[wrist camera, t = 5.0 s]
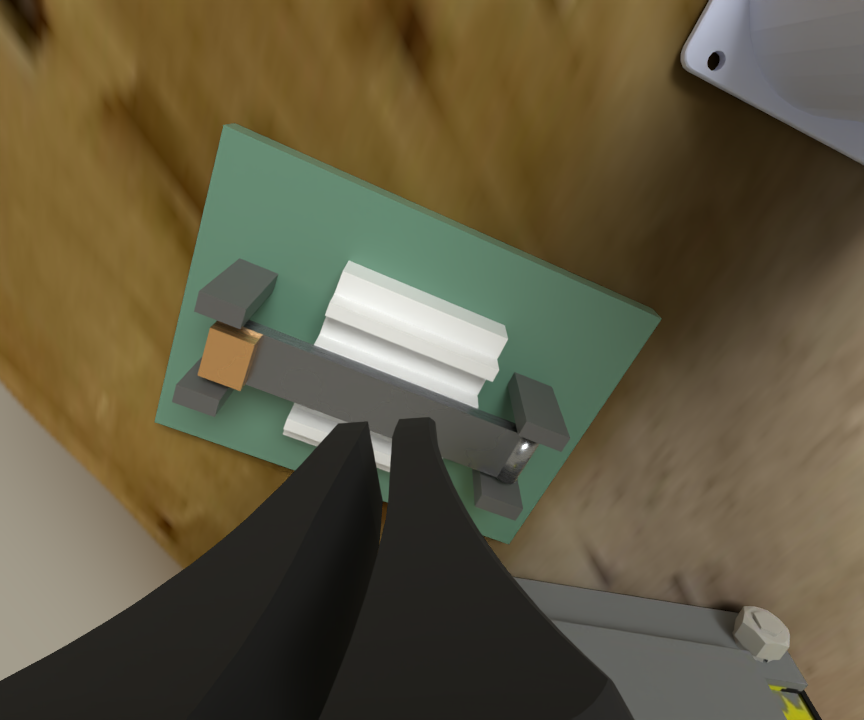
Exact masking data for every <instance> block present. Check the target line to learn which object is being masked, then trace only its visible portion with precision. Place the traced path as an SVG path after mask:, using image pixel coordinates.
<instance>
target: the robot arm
mask: <svg viewBox="0 0 864 720" xmlns="http://www.w3.org/2000/svg"><path fill="white" fill-rule="evenodd" d="M713 52H716V53H717V54H718V55H719V59H720V61H719V64H718V66H717V67H716V68H715V69H714V70H712V71H711V70H710V69H709V68H708V65H707V61H708V58H709V56H710V55H711V54H712V53H713ZM681 63H682V66H683V68H684V69H685V70H687V71H688V72H690V73H692V74H693V75H695V76H697V77H699V78H701V79H703V80H705V81H707V82H708V83H710V84H712V85H714V86H716V87H718V88H720V89H722V90H723V91H725V92H727V93H729V94H731V95H733V96H735V97H737V98H738V99H740V100H742V101H744V102H746V103H748V104H750V105H752V106H754V107H755V108H757V109H759V110H761V111H763V112H765V113H767V114H769V115H770V116H772V117H774V118H776V119H778V120H780V121H782V122H784V123H785V124H787V125H789V126H791V127H793V128H795V129H797V130H799V131H800V132H802V133H804V134H806V135H808V136H810V137H812V138H814V139H816V140H817V141H819V142H821V143H823V144H825V145H827V146H829V147H831V148H832V149H834V150H836V151H838V152H840V153H842V154H844V155H846V156H847V157H849V158H851V159H853V160H855V161H857V162H859V163H861V164H862V165H864V0H709V2H708V3H707V5H706V7H705V9H704V10H703V12H702V14H701V16H700V18H699V19H698V21H697V23H696V25H695V27H694V28H693V30H692V32H691V34H690V36H689V37H688V39H687V41H686V43H685V45H684V46H683V49H682V52H681ZM382 503H383V499H382V494H381V489H380V483H379V478H378V473H377V467H376V462H375V456H374V451H373V446H372V440H371V435H370V430H369V424H368V421H365V422H351V423H338V424H337V425H336V426H335V427H334V428H333V430H332V431H331V432H330V433H329V434H328V435H327V436H326V437H325V438H324V439H323V441H322V442H321V443H320V444H319V445H318V446H317V447H316V448H315V449H314V451H313V452H312V453H311V454H310V455H309V456H308V457H307V458H306V459H305V460H304V462H303V463H302V464H301V465H300V466H299V467H298V468H297V469H296V470H295V471H294V472H293V473H292V474H291V476H290V477H289V478H288V479H287V480H286V481H285V482H284V483H283V484H282V485H281V486H280V487H279V488H278V489H277V490H276V491H275V492H274V493H273V494H272V495H271V496H270V497H269V498H268V499H266V500H265V501H264V502H263V503H262V504H261V505H260V506H259V507H258V508H257V509H256V510H255V511H254V512H253V513H252V514H251V515H250V516H249V517H248V518H247V519H246V520H244V521H243V522H242V523H241V524H240V525H239V526H238V527H237V528H235V529H234V530H233V531H232V532H231V533H230V534H228V535H227V536H226V537H225V538H224V539H222V540H221V541H220V542H219V543H217V544H216V545H215V546H214V547H212V548H211V549H210V550H209V551H207V552H206V553H205V554H204V555H202V556H201V557H200V558H199V559H197V560H196V561H195V562H193V563H192V564H191V565H189V566H188V567H186V568H185V569H184V570H182V571H181V572H180V573H178V574H177V575H175V576H174V577H172V578H171V579H169V580H168V581H167V582H165V583H164V584H162V585H161V586H160V587H158V588H157V589H155V590H154V591H152V592H151V593H150V594H148V595H147V596H145V597H144V598H142V599H141V600H139V601H138V602H136V603H135V604H133V605H132V606H130V607H129V608H127V609H126V610H124V611H122V612H121V613H119V614H118V615H116V616H114V617H113V618H111V619H110V620H108V621H106V622H105V623H103V624H102V625H100V626H98V627H96V628H95V629H93V630H91V631H90V632H88V633H87V634H85V635H83V636H81V637H80V638H78V639H76V640H75V641H73V642H71V643H69V644H68V645H66V646H64V647H62V648H61V649H59V650H57V651H55V652H54V653H52V654H50V655H48V656H46V657H44V658H43V659H41V660H39V661H37V662H35V663H33V664H31V665H29V666H28V667H26V668H24V669H22V670H20V671H18V672H16V673H15V674H12V675H11V676H9V677H7V678H5V679H3V680H1V681H0V720H634V718H633V716H632V714H631V712H630V710H629V709H628V707H627V705H626V703H625V702H624V700H623V698H622V696H621V694H620V693H619V691H618V689H617V687H616V686H615V684H614V682H613V681H612V680H611V678H609V677H608V676H607V675H606V674H605V673H604V672H603V671H602V670H601V669H600V668H599V667H598V666H596V665H595V664H594V663H593V662H592V661H591V660H590V659H589V658H588V657H587V656H586V655H585V654H584V653H583V652H582V651H580V650H579V649H578V648H577V647H576V646H575V645H574V644H573V643H572V642H571V641H570V640H569V639H568V638H567V637H566V636H565V635H564V634H563V633H562V632H561V631H560V630H559V629H558V628H557V626H556V625H555V624H554V623H553V622H552V621H551V620H550V619H549V618H548V617H547V616H546V615H545V614H544V613H543V612H542V611H541V610H540V609H539V607H538V606H537V605H536V604H535V603H534V602H533V600H532V599H531V598H530V597H529V596H528V594H527V593H526V592H525V591H524V590H523V588H522V587H521V586H520V585H519V584H518V582H517V581H516V580H515V579H514V578H513V576H512V575H511V574H510V573H509V572H508V571H507V569H506V568H505V567H504V565H503V564H502V563H501V561H500V560H499V558H498V557H497V556H496V554H495V553H494V552H493V550H492V549H491V548H490V546H489V545H488V543H487V542H486V540H485V539H484V537H483V536H482V534H481V533H480V531H479V530H478V528H477V526H476V525H475V523H474V522H473V520H472V518H471V516H470V515H469V513H468V511H467V510H466V508H465V506H464V504H463V502H462V500H461V499H460V497H459V495H458V493H457V491H456V489H455V487H454V485H453V483H452V480H451V478H450V476H449V473H448V471H447V469H446V466H445V464H444V462H443V459H442V456H441V453H440V450H439V447H438V440H437V431H436V423H435V421H434V420H433V419H431V418H430V417H421V418H407V419H399V420H398V423H397V425H396V427H395V430H394V433H393V436H392V446H391V461H390V478H389V495H388V507H387V514H386V521H385V525H384V529H383V533H382V537H381V541H380V545H379V540H380V529H381V516H382ZM378 548H379V549H378ZM377 553H378V554H377Z"/></svg>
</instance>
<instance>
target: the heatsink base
mask: <svg viewBox="0 0 864 720" xmlns="http://www.w3.org/2000/svg"><path fill="white" fill-rule="evenodd" d="M661 319H662V318H661V317H660V316H659V315H658V314H657V313H656V312H655V311H654V310H653V309H652V308H650V307H648V306H645V305H643V304H641V303H639V302H636V301H634V300H632V299H630V298H627V297H625V296H623V295H621V294H618V293H616V292H614V291H612V290H609V289H607V288H605V287H603V286H600V285H598V284H596V283H594V282H591V281H589V280H587V279H585V278H582V277H580V276H578V275H575V274H573V273H571V272H569V271H566V270H564V269H562V268H560V267H557V266H555V265H553V264H551V263H548V262H546V261H544V260H542V259H539V258H537V257H535V256H533V255H530V254H528V253H526V252H524V251H521V250H519V249H517V248H515V247H512V246H510V245H508V244H506V243H503V242H501V241H499V240H497V239H494V238H492V237H490V236H488V235H485V234H483V233H481V232H479V231H476V230H474V229H472V228H470V227H467V226H465V225H463V224H461V223H458V222H456V221H454V220H452V219H449V218H447V217H445V216H443V215H440V214H438V213H436V212H434V211H431V210H429V209H427V208H425V207H422V206H420V205H418V204H416V203H413V202H411V201H409V200H407V199H404V198H402V197H400V196H398V195H395V194H393V193H391V192H388V191H386V190H384V189H382V188H379V187H377V186H375V185H373V184H370V183H368V182H366V181H364V180H361V179H359V178H357V177H355V176H352V175H350V174H348V173H346V172H343V171H341V170H339V169H337V168H334V167H332V166H330V165H328V164H325V163H323V162H321V161H319V160H316V159H314V158H312V157H310V156H307V155H305V154H303V153H301V152H298V151H296V150H294V149H292V148H289V147H287V146H285V145H283V144H280V143H278V142H276V141H274V140H271V139H269V138H267V137H265V136H262V135H260V134H258V133H256V132H253V131H251V130H249V129H247V128H244V127H242V126H240V125H238V124H235V123H234V124H227V125H223V130H222V134H221V138H220V143H219V147H218V151H217V156H216V160H215V164H214V168H213V173H212V177H211V181H210V186H209V190H208V194H207V199H206V203H205V207H204V211H203V216H202V220H201V224H200V229H199V233H198V237H197V242H196V246H195V250H194V254H193V259H192V263H191V267H190V272H189V276H188V280H187V285H186V289H185V293H184V298H183V302H182V306H181V310H180V315H179V319H178V323H177V328H176V332H175V336H174V341H173V345H172V349H171V353H170V358H169V362H168V366H167V371H166V375H165V379H164V384H163V388H162V392H161V396H160V401H159V405H158V409H157V414H156V418H155V422H156V423H159V424H162V425H165V426H168V427H170V428H173V429H176V430H179V431H182V432H185V433H188V434H191V435H194V436H197V437H199V438H202V439H205V440H208V441H211V442H214V443H217V444H220V445H223V446H225V447H228V448H231V449H234V450H237V451H240V452H243V453H246V454H249V455H252V456H254V457H257V458H260V459H263V460H266V461H269V462H272V463H275V464H278V465H281V466H283V467H286V468H289V469H292V470H296V469H297V468H298V467H299V466H300V465H301V464H302V463H303V462H304V460H305V459H306V458H307V457H308V456H309V455H310V454H311V453H312V452H313V451H314V449H315V448H316V447H317V446H318V445H319V444H320V443H321V442H322V441H323V439H324V438H325V437H326V436H327V435H328V434H329V433H330V432H331V431H332V430H333V428H334V427H335V426H336V425H337V424H338V423H348V422H346V421H343V420H340V419H337V418H335V417H332V416H329V415H327V414H324V413H321V412H319V411H316V410H313V409H310V408H308V407H305V406H302V405H300V404H297V403H294V402H292V401H289V400H286V399H283V398H281V397H278V396H275V395H273V394H270V393H267V392H265V391H262V390H259V389H256V388H254V387H251V386H248V385H246V384H245V385H244V387H243V388H242V389H241V391H238V390H236V389H233V388H230V387H228V386H225V385H222V384H219V383H217V382H214V381H211V380H209V379H206V378H203V377H200V376H198V371H199V368H200V364H201V360H202V356H203V352H204V349H205V345H206V341H207V337H208V333H209V330H210V327H211V326H212V325H213V324H214V323H215V322H216V321H220V322H223V323H225V324H228V325H230V326H233V327H236V328H238V329H241V328H242V327H243V326H244V324H245V323H246V322H247V321H248V320H251V321H254V322H256V323H259V324H262V325H264V326H267V327H269V328H272V329H274V330H277V331H279V332H282V333H285V334H287V335H290V336H292V337H295V338H297V339H300V340H303V341H305V342H308V343H310V344H313V345H315V346H318V347H320V348H323V349H326V350H328V351H331V352H333V353H336V354H339V355H341V356H344V357H346V358H349V359H351V360H354V361H356V362H359V363H362V364H364V365H367V366H369V367H372V368H374V369H377V370H380V371H382V372H385V373H387V374H390V375H392V376H395V377H398V378H400V379H403V380H405V381H408V382H410V383H413V384H415V385H418V386H421V387H423V388H426V389H428V390H431V391H433V392H436V393H439V394H441V395H444V396H446V397H449V398H451V399H454V400H457V401H459V402H462V403H464V404H467V405H469V406H472V407H474V408H477V409H480V410H482V411H485V412H487V413H490V414H492V415H495V416H498V417H500V418H503V419H505V420H508V421H510V422H513V423H516V428H517V432H518V436H521V437H523V438H526V439H529V440H531V441H534V442H536V443H539V446H538V447H537V449H536V450H535V452H534V453H533V455H532V456H531V458H530V460H529V461H528V463H527V464H526V466H525V467H524V469H523V471H522V472H521V474H520V475H519V477H518V478H517V480H516V482H515V483H514V484H506V483H504V482H502V481H500V480H499V479H498V478H497V477H494V476H491V475H489V474H486V473H483V472H480V471H478V470H475V469H472V468H470V467H467V466H464V465H462V464H459V463H456V462H453V461H451V460H448V459H445V458H443V457H442V459H443V462H444V464H445V466H446V469H447V471H448V473H449V476H450V478H451V480H452V483H453V485H454V487H455V489H456V491H457V493H458V495H459V497H460V499H461V500H462V502H463V504H464V506H465V508H466V510H467V511H468V513H469V515H470V516H471V518H472V520H473V522H474V523H475V525H476V526H477V528H478V530H479V531H480V533H481V534H482V535H483V536H486V537H489V538H492V539H495V540H498V541H501V542H504V543H506V544H509V543H510V542H511V540H512V539H513V537H514V536H515V535H516V533H517V532H518V530H519V529H520V527H521V526H522V524H523V523H524V521H525V520H526V518H527V517H528V515H529V514H530V512H531V511H532V509H533V508H534V507H535V505H536V504H537V502H538V501H539V499H540V498H541V496H542V495H543V493H544V492H545V490H546V489H547V487H548V486H549V484H550V483H551V481H552V480H553V478H554V477H555V476H556V474H557V473H558V471H559V470H560V468H561V467H562V465H563V464H564V462H565V461H566V459H567V458H568V456H569V455H570V453H571V452H572V450H573V449H574V448H575V446H576V445H577V443H578V442H579V440H580V439H581V437H582V436H583V434H584V433H585V431H586V430H587V428H588V427H589V425H590V424H591V422H592V421H593V419H594V418H595V417H596V415H597V414H598V412H599V411H600V409H601V408H602V406H603V405H604V403H605V402H606V400H607V399H608V397H609V396H610V394H611V393H612V391H613V390H614V389H615V387H616V386H617V384H618V383H619V381H620V380H621V378H622V377H623V375H624V374H625V372H626V371H627V369H628V368H629V366H630V365H631V363H632V362H633V360H634V359H635V358H636V356H637V355H638V353H639V352H640V350H641V349H642V347H643V346H644V344H645V343H646V341H647V340H648V338H649V337H650V335H651V334H652V332H653V331H654V330H655V328H656V327H657V325H658V324H659V322H660V321H661ZM370 435H371V440H372V446H373V451H374V456H375V462H376V467H377V473H378V478H379V483H380V489H381V494H382V499H383V501H385V502H388V495H389V478H390V461H391V446H392V439H391V438H389V437H386V436H383V435H381V434H378V433H375V432H373V431H370Z"/></svg>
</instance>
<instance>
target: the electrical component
mask: <svg viewBox="0 0 864 720" xmlns="http://www.w3.org/2000/svg"><path fill="white" fill-rule="evenodd" d="M513 578H514V579H515V580H516V581H517V582H518V584H519V585H520V586H521V587H522V588H523V590H524V591H525V592H526V593H527V594H528V596H529V597H530V598H531V599H532V600H533V602H534V603H535V604H536V605H537V606H538V607H539V609H540V610H541V611H542V612H543V613H544V614H545V615H546V616H547V617H548V618H549V619H550V620H551V621H552V622H553V623H554V624H555V625H556V626H557V628H558V629H559V630H560V631H561V632H562V633H563V634H564V635H565V636H566V637H567V638H568V639H569V640H570V641H571V642H572V643H573V644H574V645H575V646H576V647H577V648H578V649H579V650H580V651H582V652H583V653H584V654H585V655H586V656H587V657H588V658H589V659H590V660H591V661H592V662H593V663H594V664H595V665H596V666H598V667H599V668H600V669H601V670H602V671H603V672H604V673H605V674H606V675H607V676H608V677H609V678H611V680H612V681H613V682H614V684H615V686H616V687H617V689H618V691H619V693H620V694H621V696H622V698H623V700H624V702H625V703H626V705H627V707H628V709H629V710H630V712H631V714H632V716H633V718H634V720H822V719H821V717H820V716H819V714H818V712H817V711H816V709H815V707H814V706H813V704H812V702H811V701H810V699H809V697H808V696H807V694H806V692H805V691H804V689H805V688H806V687H807V686H808V684H807V682H806V681H805V679H804V677H803V676H802V674H801V673H800V671H799V669H798V668H797V666H796V664H795V663H794V661H793V659H792V658H791V656H790V654H789V653H788V651H787V649H788V648H789V643H790V634H789V629H788V628H787V627H786V626H785V625H784V624H783V623H782V621H781V620H780V619H779V618H777V617H776V616H775V615H773V614H772V613H770V612H769V611H767V610H766V609H762V608H759V607H755V606H744V607H743V608H742V610H741V611H740V613H734V612H728V611H722V610H716V609H709V608H703V607H697V606H691V605H684V604H678V603H672V602H666V601H659V600H653V599H647V598H641V597H634V596H628V595H622V594H616V593H609V592H603V591H597V590H591V589H584V588H578V587H572V586H566V585H559V584H553V583H547V582H541V581H534V580H528V579H522V578H516V577H513Z"/></svg>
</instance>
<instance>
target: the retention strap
mask: <svg viewBox="0 0 864 720" xmlns="http://www.w3.org/2000/svg"><path fill="white" fill-rule="evenodd" d="M198 376H200V377H203V378H206V379H209V380H211V381H214V382H217V383H219V384H222V385H225V386H228V387H230V388H233V389H236V390H238V391H241V389H242V388H243V387H244V385H245V384H246V385H248V386H251V387H254V388H256V389H259V390H262V391H265V392H267V393H270V394H273V395H275V396H278V397H281V398H283V399H286V400H289V401H292V402H294V403H297V404H300V405H302V406H305V407H308V408H310V409H313V410H316V411H319V412H321V413H324V414H327V415H329V416H332V417H335V418H337V419H340V420H343V421H346V422H348V423H351V422H365V421H368V424H369V430H370V431H373V432H375V433H378V434H381V435H383V436H386V437H389V438H391V439H392V436H393V433H394V430H395V427H396V425H397V423H398V420H399V419H407V418H421V417H430V418H431V419H433V420H434V421H435V423H436V431H437V440H438V447H439V450H440V453H441V456H442V457H443V458H445V459H448V460H451V461H453V462H456V463H459V464H462V465H464V466H467V467H470V468H472V469H475V470H478V471H480V472H483V473H486V474H489V475H491V476H494V477H497V478H498V479H499V480H500V481H502V482H504V483H506V484H514V483H515V482H516V480H517V478H518V477H519V475H520V474H521V472H522V471H523V469H524V467H525V466H526V464H527V463H528V461H529V460H530V458H531V456H532V455H533V453H534V452H535V450H536V449H537V447H538V446H539V443H536V442H534V441H531V440H529V439H526V438H523V437H521V436H518V432H517V428H516V423H513V422H510V421H508V420H505V419H503V418H500V417H498V416H495V415H492V414H490V413H487V412H485V411H482V410H480V409H477V408H474V407H472V406H469V405H467V404H464V403H462V402H459V401H457V400H454V399H451V398H449V397H446V396H444V395H441V394H439V393H436V392H433V391H431V390H428V389H426V388H423V387H421V386H418V385H415V384H413V383H410V382H408V381H405V380H403V379H400V378H398V377H395V376H392V375H390V374H387V373H385V372H382V371H380V370H377V369H374V368H372V367H369V366H367V365H364V364H362V363H359V362H356V361H354V360H351V359H349V358H346V357H344V356H341V355H339V354H336V353H333V352H331V351H328V350H326V349H323V348H320V347H318V346H315V345H313V344H310V343H308V342H305V341H303V340H300V339H297V338H295V337H292V336H290V335H287V334H285V333H282V332H279V331H277V330H274V329H272V328H269V327H267V326H264V325H262V324H259V323H256V322H254V321H251V320H248V321H247V322H246V323H245V324H244V326H243V327H242V328H241V329H238V328H236V327H233V326H230V325H228V324H225V323H223V322H220V321H216V322H215V323H214V324H213V325H212V326H211V327H210V330H209V333H208V337H207V341H206V345H205V349H204V352H203V356H202V360H201V364H200V368H199V371H198Z"/></svg>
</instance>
